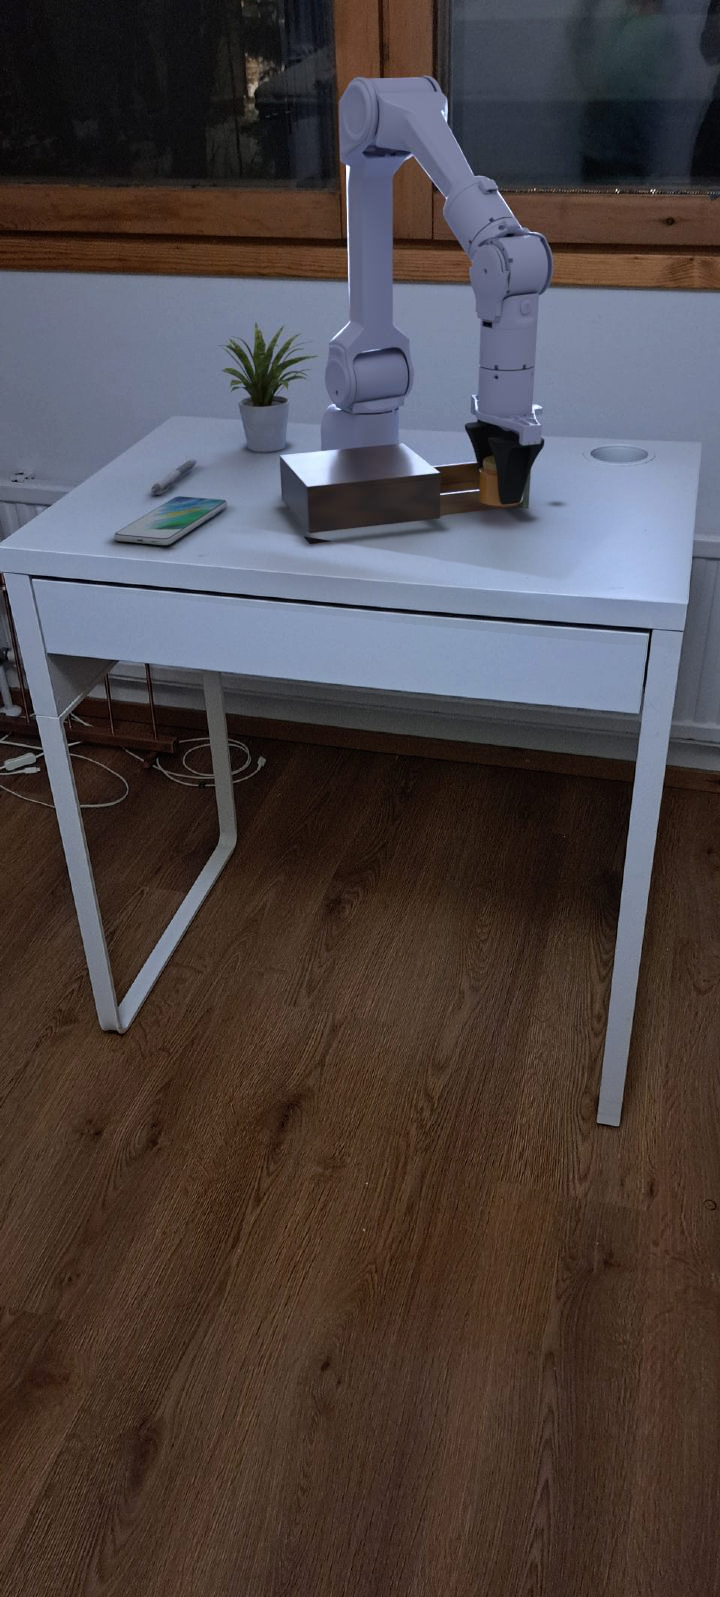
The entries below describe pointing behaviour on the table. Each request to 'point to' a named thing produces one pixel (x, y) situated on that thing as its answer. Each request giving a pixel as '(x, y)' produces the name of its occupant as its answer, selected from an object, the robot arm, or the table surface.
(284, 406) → the house plant
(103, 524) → the table surface
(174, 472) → the pen
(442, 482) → the drawer
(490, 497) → the jar
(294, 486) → the cabinet
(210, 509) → the smartphone
